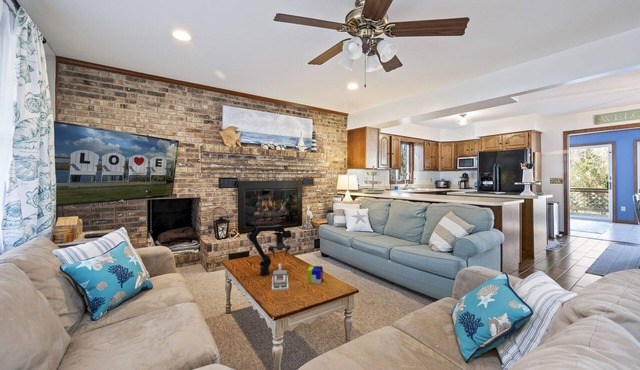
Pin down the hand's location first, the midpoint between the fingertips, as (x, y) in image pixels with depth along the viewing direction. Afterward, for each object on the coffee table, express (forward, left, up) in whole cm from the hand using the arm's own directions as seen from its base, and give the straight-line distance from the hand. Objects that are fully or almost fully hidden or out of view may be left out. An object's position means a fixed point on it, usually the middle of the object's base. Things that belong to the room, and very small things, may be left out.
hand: (279, 257), depth 232 cm
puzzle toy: (+37, -8, -12) cm, 40 cm away
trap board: (+14, -23, -12) cm, 29 cm away
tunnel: (+16, -26, -10) cm, 32 cm away
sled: (+9, -14, -10) cm, 20 cm away
